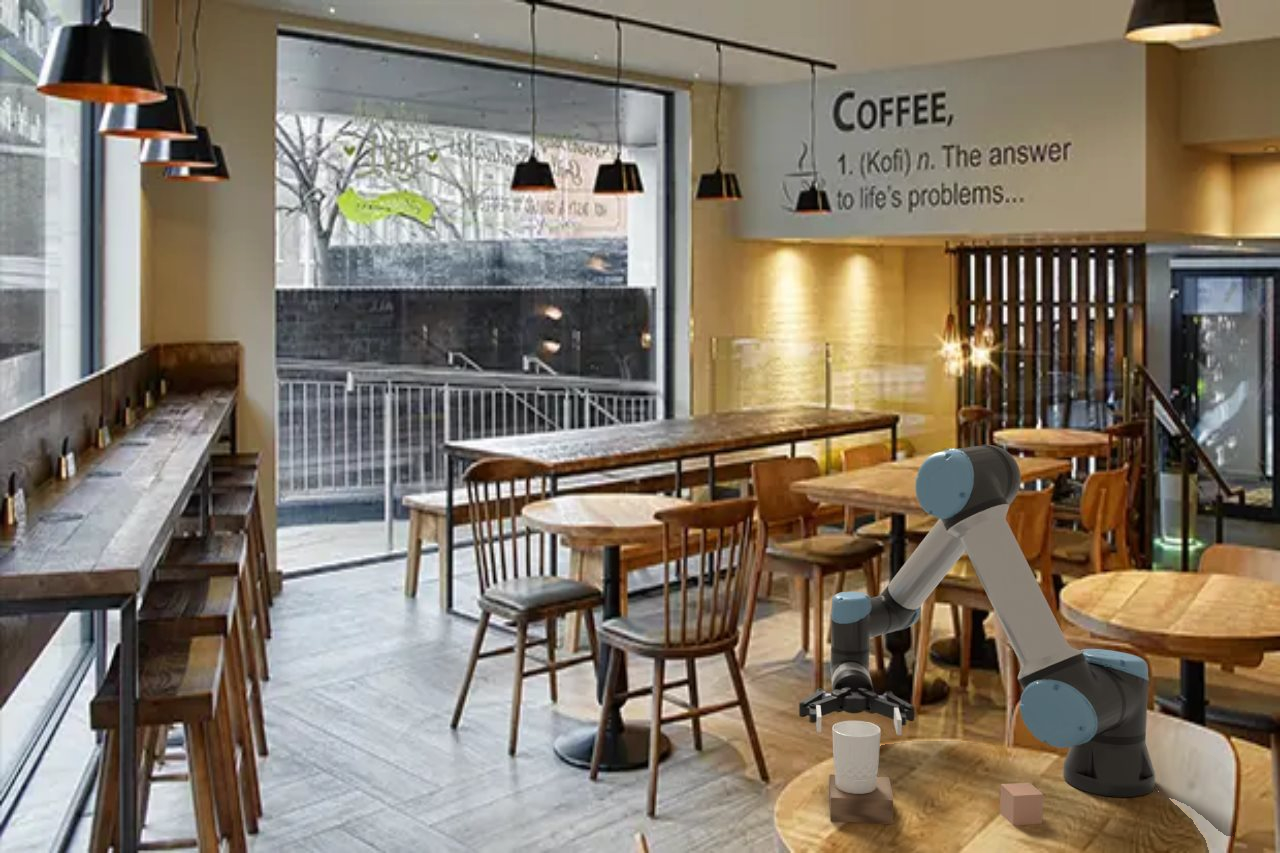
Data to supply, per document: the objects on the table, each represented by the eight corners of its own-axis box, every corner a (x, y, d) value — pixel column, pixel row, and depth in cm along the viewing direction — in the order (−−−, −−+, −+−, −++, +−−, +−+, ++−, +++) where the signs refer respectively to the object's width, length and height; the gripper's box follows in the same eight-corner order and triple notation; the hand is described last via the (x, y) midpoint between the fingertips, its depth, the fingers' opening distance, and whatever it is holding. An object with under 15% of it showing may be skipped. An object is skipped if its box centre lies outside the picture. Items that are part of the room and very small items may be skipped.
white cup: (879, 797, 207) (880, 738, 206) (830, 794, 208) (830, 734, 207) (880, 779, 215) (881, 722, 214) (833, 776, 216) (833, 719, 215)
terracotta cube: (1028, 811, 211) (1029, 782, 211) (1042, 823, 206) (1043, 794, 206) (999, 813, 211) (1000, 784, 210) (1012, 825, 206) (1013, 796, 205)
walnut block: (888, 800, 216) (888, 777, 216) (892, 824, 206) (893, 800, 206) (828, 797, 217) (829, 774, 217) (830, 821, 207) (830, 797, 207)
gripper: (919, 709, 239) (932, 750, 218) (785, 705, 242) (785, 744, 221) (920, 670, 238) (933, 707, 217) (785, 666, 241) (786, 702, 220)
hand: (859, 726), depth 219 cm, fingers open, 13 cm apart
